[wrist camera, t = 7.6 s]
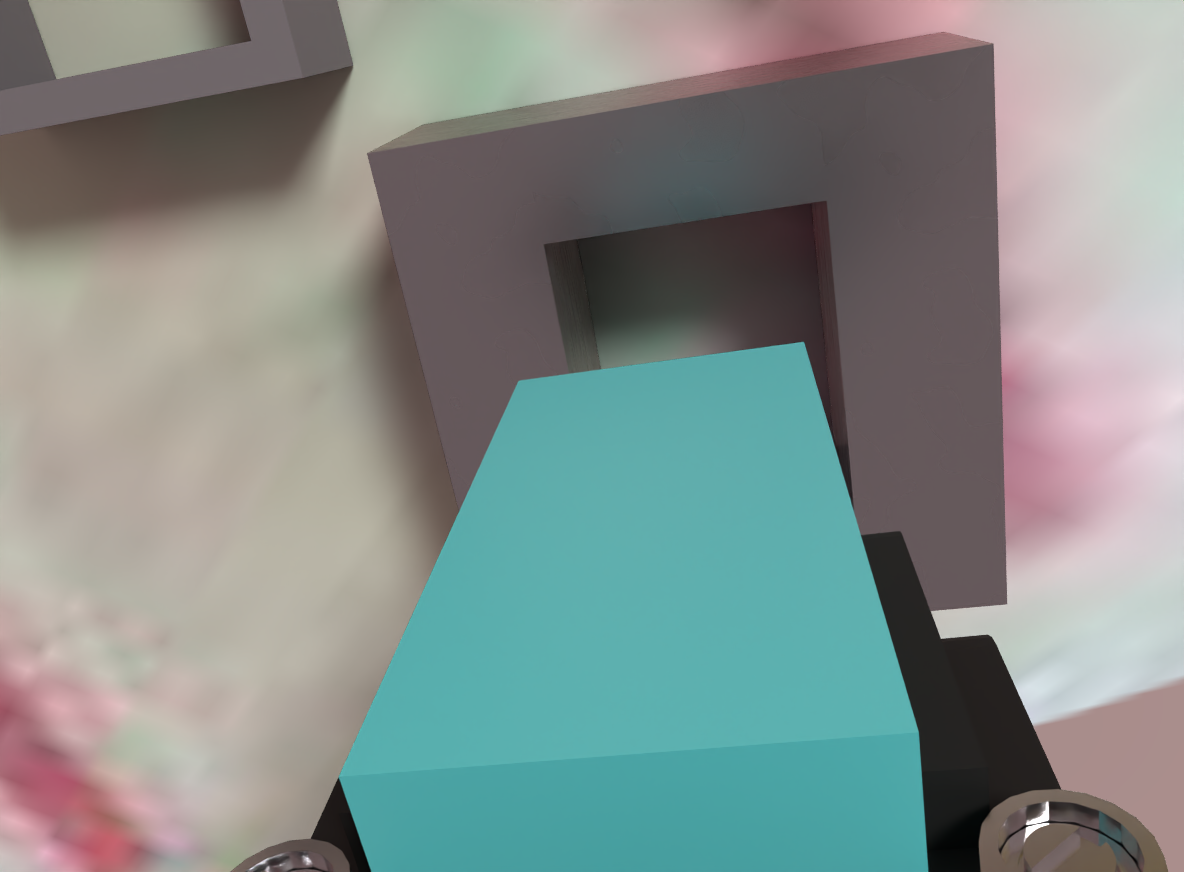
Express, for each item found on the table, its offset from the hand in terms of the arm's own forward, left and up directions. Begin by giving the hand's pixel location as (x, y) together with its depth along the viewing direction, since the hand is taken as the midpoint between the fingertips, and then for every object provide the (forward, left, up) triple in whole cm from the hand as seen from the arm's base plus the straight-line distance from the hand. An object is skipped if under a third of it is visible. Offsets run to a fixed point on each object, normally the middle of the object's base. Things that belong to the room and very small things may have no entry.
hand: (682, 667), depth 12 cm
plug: (0, 0, -3) cm, 3 cm away
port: (0, 0, -13) cm, 13 cm away
